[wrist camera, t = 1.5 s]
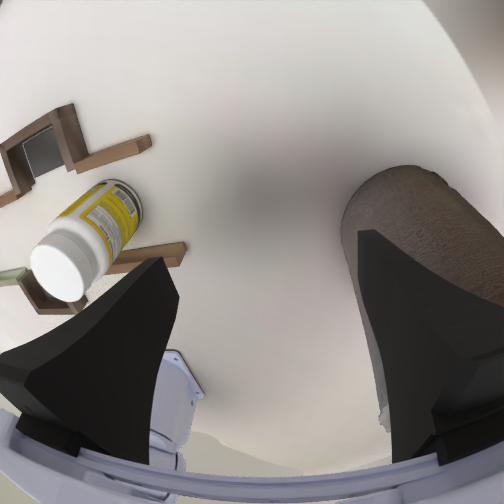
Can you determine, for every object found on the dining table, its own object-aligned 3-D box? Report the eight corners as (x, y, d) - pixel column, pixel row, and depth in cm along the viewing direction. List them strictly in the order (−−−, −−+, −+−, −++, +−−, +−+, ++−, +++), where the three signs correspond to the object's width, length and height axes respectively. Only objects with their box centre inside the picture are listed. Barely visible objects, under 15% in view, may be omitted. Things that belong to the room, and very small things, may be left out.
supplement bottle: (90, 226, 22) (32, 292, 15) (90, 172, 19) (18, 228, 12) (141, 241, 22) (92, 317, 15) (147, 186, 20) (85, 252, 13)
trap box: (202, 293, 25) (197, 309, 23) (-2, 304, 30) (-9, 313, 28) (132, 76, 15) (118, 77, 14) (-57, 195, 21) (-67, 202, 19)
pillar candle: (451, 152, 16) (609, 291, 4) (455, 263, 21) (533, 415, 9) (323, 184, 19) (381, 401, 6) (351, 293, 24) (381, 474, 11)
